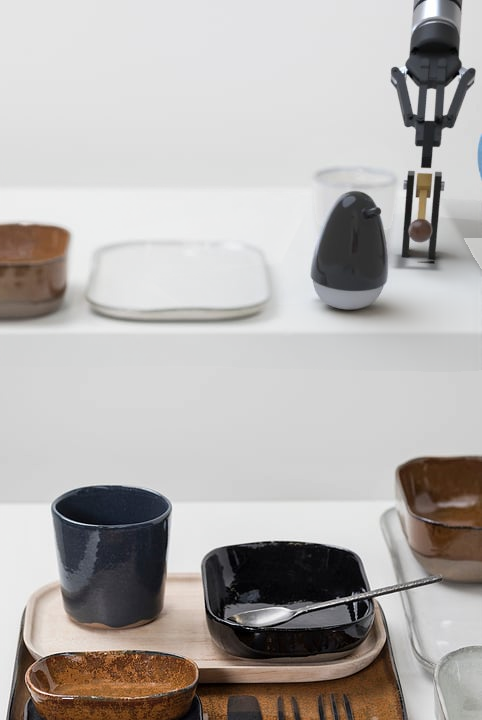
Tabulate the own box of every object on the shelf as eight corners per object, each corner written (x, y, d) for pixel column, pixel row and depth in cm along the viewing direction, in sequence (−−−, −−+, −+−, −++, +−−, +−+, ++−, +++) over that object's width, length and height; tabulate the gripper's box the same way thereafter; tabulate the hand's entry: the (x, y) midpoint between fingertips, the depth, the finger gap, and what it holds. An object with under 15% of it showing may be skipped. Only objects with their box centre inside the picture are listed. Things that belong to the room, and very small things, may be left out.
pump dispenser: (334, 321, 140) (344, 206, 133) (294, 295, 148) (302, 185, 141) (400, 310, 144) (413, 198, 137) (357, 285, 152) (367, 178, 145)
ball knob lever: (431, 247, 158) (432, 230, 155) (407, 246, 158) (408, 229, 156) (434, 188, 165) (436, 170, 163) (412, 187, 166) (413, 170, 163)
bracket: (437, 270, 164) (445, 178, 159) (397, 269, 165) (403, 176, 160) (437, 259, 171) (445, 170, 166) (398, 257, 172) (405, 168, 167)
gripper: (476, 55, 171) (469, 179, 162) (392, 54, 173) (381, 176, 164) (480, 19, 164) (474, 147, 155) (393, 19, 166) (382, 145, 158)
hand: (426, 162), depth 160 cm, fingers closed
